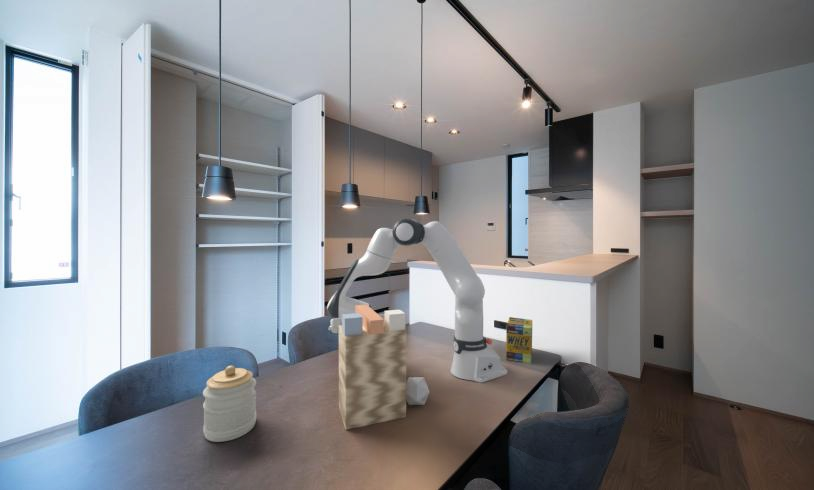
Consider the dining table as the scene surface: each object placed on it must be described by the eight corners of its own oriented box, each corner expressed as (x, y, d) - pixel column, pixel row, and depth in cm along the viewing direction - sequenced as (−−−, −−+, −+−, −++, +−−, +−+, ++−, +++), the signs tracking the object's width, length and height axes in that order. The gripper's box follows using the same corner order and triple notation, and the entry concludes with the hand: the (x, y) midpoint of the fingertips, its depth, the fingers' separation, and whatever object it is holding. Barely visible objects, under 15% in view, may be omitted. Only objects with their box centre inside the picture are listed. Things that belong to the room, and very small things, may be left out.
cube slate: (358, 329, 94) (358, 313, 94) (362, 334, 90) (362, 317, 89) (342, 331, 92) (341, 314, 92) (344, 336, 88) (344, 318, 88)
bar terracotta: (366, 315, 110) (366, 304, 110) (383, 333, 91) (383, 319, 91) (355, 316, 109) (355, 305, 109) (370, 334, 89) (370, 320, 89)
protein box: (505, 360, 137) (506, 325, 137) (508, 348, 151) (509, 316, 151) (531, 364, 133) (532, 328, 133) (532, 351, 147) (532, 319, 147)
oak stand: (392, 396, 106) (393, 320, 105) (406, 416, 94) (406, 330, 93) (338, 406, 99) (338, 325, 98) (345, 429, 88) (345, 337, 87)
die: (420, 415, 96) (436, 385, 99) (397, 398, 98) (413, 370, 100) (419, 410, 104) (434, 383, 107) (397, 395, 105) (412, 369, 108)
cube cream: (399, 325, 99) (399, 309, 99) (405, 329, 94) (405, 313, 94) (384, 326, 97) (384, 310, 97) (389, 331, 92) (389, 314, 92)
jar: (219, 450, 79) (218, 380, 79) (194, 432, 86) (193, 369, 86) (266, 423, 90) (265, 363, 90) (240, 410, 97) (239, 353, 97)
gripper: (327, 321, 117) (330, 310, 106) (380, 316, 124) (388, 305, 113) (328, 339, 114) (332, 329, 103) (382, 332, 122) (391, 323, 110)
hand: (362, 316), depth 108 cm, fingers open, 8 cm apart
